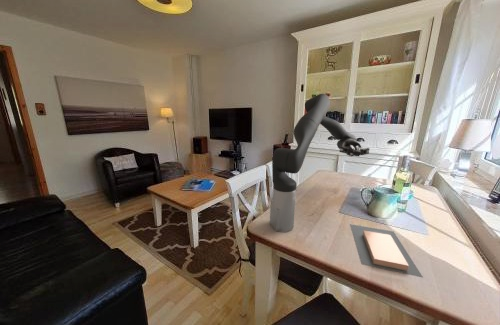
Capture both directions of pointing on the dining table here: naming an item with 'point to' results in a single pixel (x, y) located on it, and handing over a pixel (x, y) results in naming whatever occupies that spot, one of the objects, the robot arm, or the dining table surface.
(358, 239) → the mat
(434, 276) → the dining table surface
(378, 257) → the glazed tile
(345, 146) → the robot arm
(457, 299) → the dining table surface
